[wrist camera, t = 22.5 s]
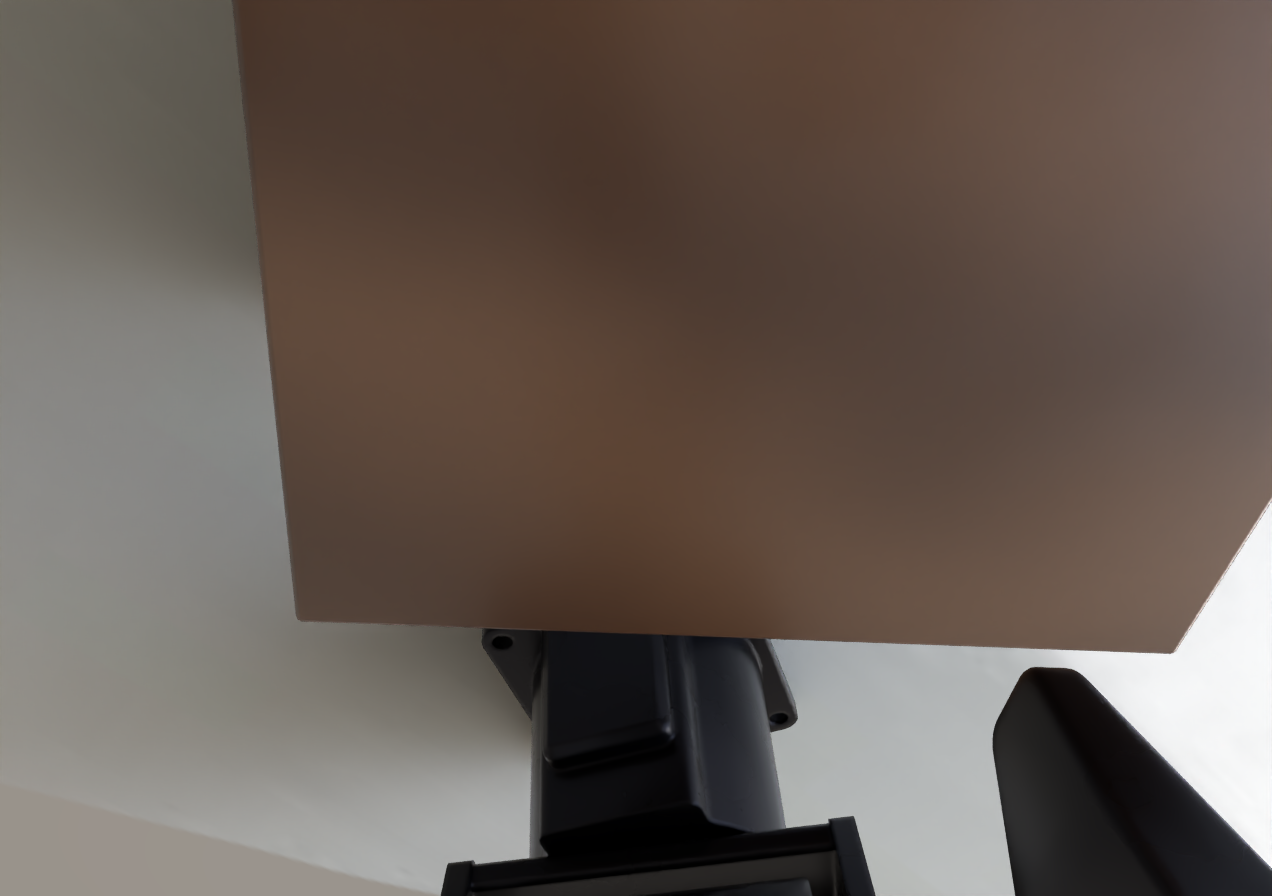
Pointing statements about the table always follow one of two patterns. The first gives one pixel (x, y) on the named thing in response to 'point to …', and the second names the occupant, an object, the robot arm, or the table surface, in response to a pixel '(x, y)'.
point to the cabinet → (767, 312)
